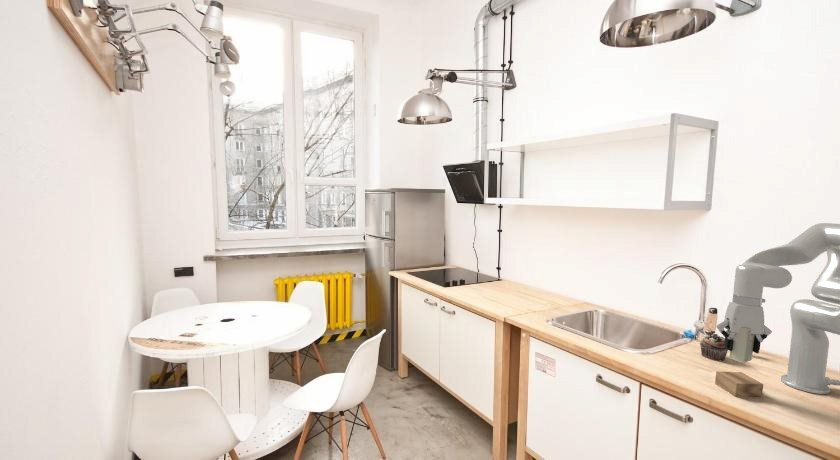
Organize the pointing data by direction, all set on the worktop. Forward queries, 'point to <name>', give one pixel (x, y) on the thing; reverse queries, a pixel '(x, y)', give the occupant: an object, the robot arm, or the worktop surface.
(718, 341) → the cupcake
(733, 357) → the skincare box
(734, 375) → the block
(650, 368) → the worktop surface
